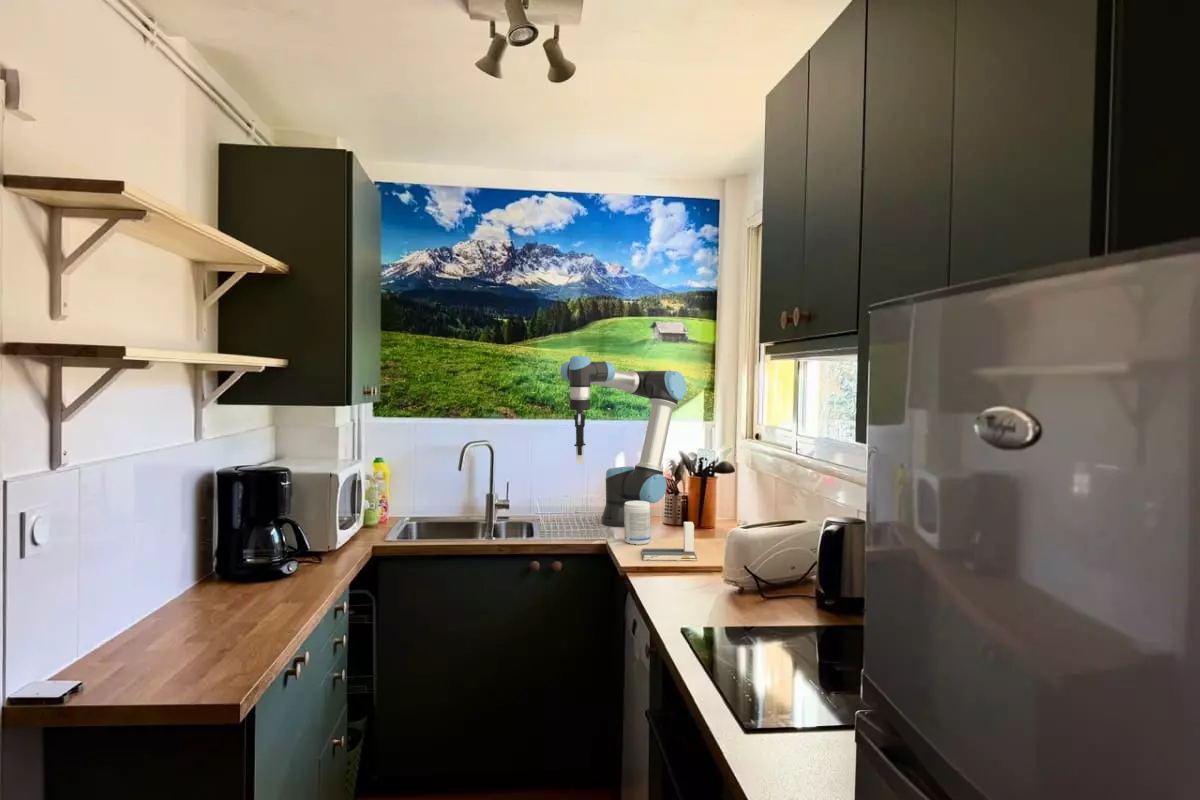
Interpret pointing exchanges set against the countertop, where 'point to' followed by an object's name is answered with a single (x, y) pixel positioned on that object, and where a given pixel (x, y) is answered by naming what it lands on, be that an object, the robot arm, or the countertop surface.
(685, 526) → the switch tab
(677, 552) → the switch housing
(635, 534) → the supplement tub
